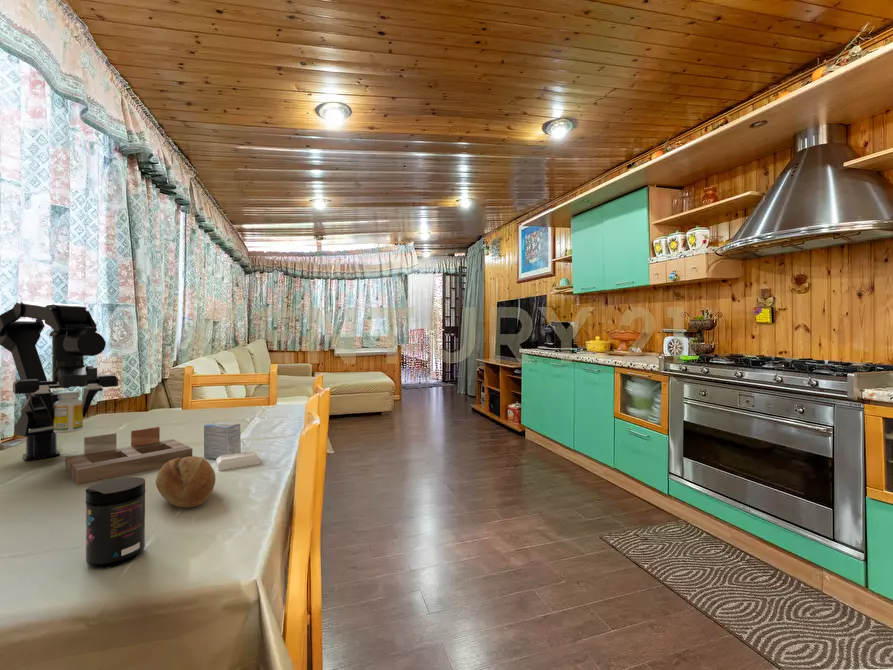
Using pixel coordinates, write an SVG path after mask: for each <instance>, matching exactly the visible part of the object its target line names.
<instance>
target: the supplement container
mask: <svg viewBox="0 0 893 670" xmlns="http://www.w3.org/2000/svg"><path fill="white" fill-rule="evenodd" d="M145 547H146V478H144V477H140V476H127V477H126V476H125V477H118V478H111V479H107V480H105V481H103V480H102V481H100V482H97V483H94V484H91V485H90V486H88V487H87V488H85V563H86V564H87V566H89V567H90V568H92V567H93V569H97V568H102V569H109V568H108V567H110V568H114V566H115V567H118V565H119V566H122V565H124V563H125V564H127V563H129V562H131V561H134V560H135V559H136V558H138V557H139V556H140V555H141V554H142V553H143V552H144V550H145ZM121 564H122V565H121Z"/></svg>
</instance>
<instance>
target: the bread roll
mask: <svg viewBox="0 0 893 670" xmlns="http://www.w3.org/2000/svg"><path fill="white" fill-rule="evenodd" d="M215 484H216V472H215V469H214V468H213V466H212V464H211V463H210V462H209V461H208V460H206V458H204V457H202V456H193V455H192V457H191V456H189V457H185V458H182V459H181V458H180V457H178V458H176V459H173V460H169V461H168V462H166V463H165V464H164V465H163V466H162V467H160V469H159V470H158V472H157V475H156V479H155V486H156V488H157V491H158V492H159V494H160V495H161V497H162V498H163V499H164V500H165V502H167V503H169V504H171V505H173V506H175V507H178V508H179V507H180V508H195V507H198V506H200V505H202V504H204V503H205V502H206V501H207V500H208V498H209V497H210V495H212V492H213V491H214V488H215Z"/></svg>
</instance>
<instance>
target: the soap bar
mask: <svg viewBox="0 0 893 670" xmlns="http://www.w3.org/2000/svg"><path fill="white" fill-rule="evenodd" d="M254 464H255V465H254ZM256 464H258V465H260V464H261V458H260V456H259V455H258V454H257V453H256V452H255V451H254V450H251V451H246V452H241V453H237V454H230V455H223V456H220V457H218V458H217V459H215V466H216V468H217V471H218V472H219V470H220V471H225V470H224V469H226V470H231V469H230V468H232V469H236V468H235V467H239V468H242V467H241V466H245V467H248V466H247V465H251V466H257V465H256Z"/></svg>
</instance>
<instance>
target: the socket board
mask: <svg viewBox="0 0 893 670" xmlns="http://www.w3.org/2000/svg"><path fill="white" fill-rule="evenodd" d="M160 429H161V428H160V426H153V427H147V428H140V429H134V430H133V429H132V430H130V436H131V437H130V444H131V445H130V446H123V447H118V448H117V432H112V433H106V434H98V435H91V436H90V435H89V436H84V437H83V438H84V440H83V442H84V443H83V446H84V447H83V453H82V454H76V455H70V456H65V458H64V459H65V461H64V462H65V465H64V468H65V469H64V471H66V473H67V474H68V475H69V476H70V477H71V479H72V481H74V482H75V484H77V485H80V484H85V483H90V482H94V481H95V482H96V481H98V480H104V479H109V478H113V477H119V476H123V475H128V474H133V473H137V472H141V471H142V472H143V471H149V470H151V469H152V470H153V469H158V468H161V467H162V466H163V465H164V464H165V463H166V462H168V461H169V460H173V459H176V458H178V457H180V458H181V459H182V458H185V457H189V456H191V457H192V456H193V447H191V446H188V445H186V444H184V443H182V442H180V441H178V440H176V439H174V438H171V439H166V440H160V436H161V435H160V431H161V430H160Z"/></svg>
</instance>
